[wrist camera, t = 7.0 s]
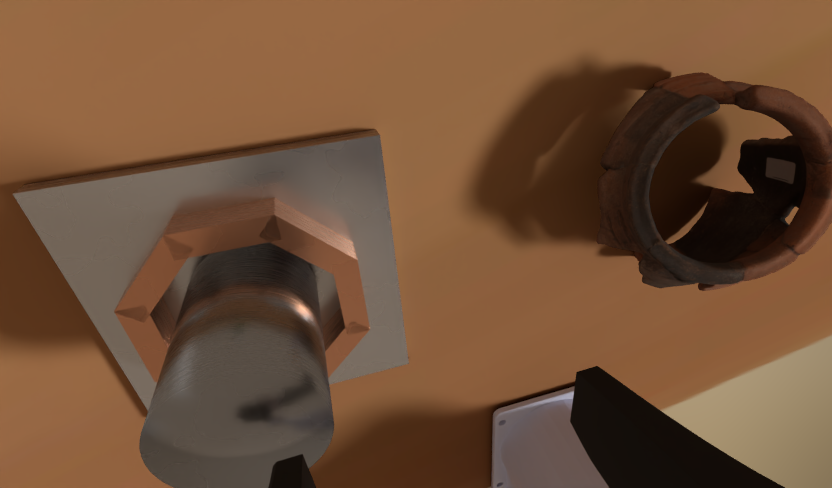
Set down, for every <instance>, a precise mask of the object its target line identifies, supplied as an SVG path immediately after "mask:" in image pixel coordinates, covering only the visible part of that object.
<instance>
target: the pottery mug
mask: <svg viewBox="0 0 832 488" xmlns="http://www.w3.org/2000/svg"><path fill="white" fill-rule="evenodd" d="M719 104H735V105H737V106H739V107H740V108H742V109H745V110H752V111H756V112H759V113H762V114H765V115H767V116H769V117H771V118H773V119H775V120H776V121H778V122H779V123H781V124H782V125H783V126H784V127H786V128H787V129H788V130H789V131H790V132H791V134H792V135H793V136H788V137H786V138H784V139H779V138H778V139H769V138H761V139H759V140H746V141H744V142H743V143H742V145H741V149H740V160H739V163H738V167H737V168H738V171H739V173H740V174H741V175H742V176H743V177H744V178H745V180H746V181H747V183H748V184H749V185H750V186H751V187H752V189H753V191H754V193H753V194H751V193H743V192H730V191H727V190H723V189H718V188H714V189H712V190H711V193H710V197H709V200H708V204H707V206H706V208H705V210H704V213H703V214H702V216H701V217H700V219H699V220H698V221H697V222H696V224H695V225H694V226H693V227H692V228H691V229H690V231H689V232H688V233H687V234H686V235H684V236H683V237H682V238H680V239H679V240H677V241H675V242H674V243H671V244H667V243H666V242H665V241H663V239H662V237H661V236H660V234H659V233H658V230H657V229H656V225H655V222H654V220H653V217H652V214H651V210H650V201H649V191H650V185H651V179H652V176H653V173H654V169H655V167H656V166H657V164H658V162H659V160H660V158H661V156H662V154H663V152H664V151H665V149H666V148H667V147H668V145H669V144H670V143H671V142H672V140H673V139H674V138H675V137H676V136H677V135H678V134H679V133H680V132H682V131H683V130H684V129H685V128H687V127H688V126H689V125H691V124H692V123H693V122H695V121H697V120H699V119H701V118H703V117H705V116H707V115H709V114H711V113H714V112H715V111H717V110H718V109H719V108H720V105H719ZM600 164H601V166H602V167H603V168H604V169H605V170H606V171H607V172H606V173H605V174H603V175H602V176H601V177H600V178H599V179H598V198H599V203H600V210H601V223H600V229H599V231H598V234H597V243H598V244H605V245H608V246H610V247H614V248H619V249H625V250H632V251H635V252H634V256H635V257H636V258H637V260H638V261H639V271H640V273H641V274H642V275H643V277H642V282H643V283H645V284H648V285H651V286H654V287H657V288H665V287H672V286H683V285H690V284H695V283H699V284H698V288H699V290H702V291H706V290H714V289H720V288H724V287H728V286H731V285H734V284H737V283H740V282H742V281H749V280H753V279H757V278H760V277H763V276H766V275H768V274H771V273H774V272H776V271H778V270H780V269H782V268H784V267H785V266H787V265H789V264H791V263H792V262H794V261H795V260H796V259H797V257H798V255H800V254H804V253H805V252H807V251H808V250H809V249H811V248H812V247H813V245H814V244H815V243H816V242H817V241H818V239H819V238H820V237H821V236H822V235H823V234H824V233H825V231H826V230H827V229H828V227H829V225H830V224H831V223H832V128H831V126H830V125H829V123H828V121H827V120H826V119H825V118H824V116H823V115H822V114H821V113H820V112H819V111H818V110H817V109H816V108H815V107H814V106H812V105H811V104H809V103H808V102H806V101H805V100H804V99H803V98H801V97H798V96H796V95H794V94H793V93H791V92H790V91H787V90H782V89H778V88H773V87H769V86H763V85H751V84H746V83H742V82H735V81H725V82H723V81H721V80H719V79H717V78H716V77H713V76H712V75H710V74H708V73H692V74H686V75H681V76H676V77H672V78H668V79H664V80H661V81H659V82H657V83H655V84H654V88H651V89H649V90H648V91H646V92H645V93H644V95H643V96H642V97H641V98H640V99H639V100H638V101H637V102H636V103H635V105H634V106H633V107H632V109H631V110H630V111H629V113H628V114H627V115H626V116H625V118H624V120H623V121H622V122H621V123H620V125H619V126H618V128H617V129H616V131H615V133H614V134H613V136H612V138H611V140H610V142H609V144H608V146H607V148H606V150H605V152H604V153H603V155H602V158H601V162H600ZM795 206H796V207H798V208H799V209H798V211H797V213H796V215H795V216H794V218H793V220H792V222H791V223H790V225H788V223H787V222H786V221H785V218H786V217H787V216H789V214H790V212H791V211H792V209H793V208H794V207H795Z"/></svg>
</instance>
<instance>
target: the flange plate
mask: <svg viewBox="0 0 832 488" xmlns="http://www.w3.org/2000/svg"><path fill="white" fill-rule="evenodd" d="M13 195H14V197H15V199H16V200H17V202H18V203H19V205H20V207H21V208H22V210H23V211H24V213H25V215H26V216H27V218H28V220H29V221H30V223H31V224H32V226H33V228H34V229H35V231H36V232H37V234H38V236H39V237H40V239H41V240H42V242H43V244H44V245H45V247H46V248H47V250H48V252H49V253H50V255H51V256H52V258H53V260H54V261H55V263H56V264H57V266H58V268H59V269H60V271H61V272H62V274H63V276H64V277H65V279H66V280H67V282H68V284H69V285H70V287H71V288H72V290H73V292H74V293H75V295H76V296H77V298H78V300H79V301H80V303H81V304H82V306H83V308H84V309H85V311H86V312H87V314H88V316H89V317H90V319H91V320H92V322H93V324H94V325H95V327H96V328H97V330H98V332H99V333H100V335H101V336H102V338H103V340H104V341H105V343H106V344H107V346H108V348H109V349H110V351H111V352H112V354H113V356H114V357H115V359H116V360H117V362H118V364H119V365H120V367H121V368H122V370H123V372H124V373H125V375H126V376H127V378H128V380H129V381H130V383H131V384H132V386H133V388H134V389H135V391H136V392H137V394H138V396H139V397H140V399H141V400H142V402H143V404H144V405H145V407H146V408H147V410H149V407H150V404H151V401H152V397H153V394H154V391H155V388H156V385H157V382H158V379H159V375H160V372H161V369H162V366H163V363H164V360H165V357H166V353H167V350H168V347H169V344H170V341H171V338H172V335H173V331H174V328H175V325H176V322H177V319H178V316H179V313H180V309H181V306H182V303H183V300H184V297H185V294H186V291H187V287H188V284H189V281H190V278H191V276H192V274H193V272H194V270H195V268H196V267H197V265H198V264H199V263H200V262H201V261H202V260H203V259H204V258H205V257H207V256H208V255H209V254H211V253H216V252H221V251H226V250H232V249H237V248H242V247H247V246H252V245H257V244H262V243H267V242H270V243H272V244H274V245H276V246H278V247H280V248H282V249H284V250H286V251H288V252H290V253H292V254H294V255H296V256H298V257H300V258H302V259H304V260H305V262H306V263H307V264H308V265H309V266H310V268H311V270H312V271H313V273H314V276H315V279H316V282H317V290H318V298H319V306H320V314H321V322H322V331H323V339H324V347H325V355H326V363H327V371H328V380H329V384H333V383H337V382H341V381H344V380H348V379H352V378H356V377H360V376H364V375H367V374H371V373H375V372H379V371H383V370H386V369H390V368H394V367H398V366H402V365H405V364H409V362H408V354H407V346H406V338H405V330H404V322H403V314H402V306H401V299H400V291H399V283H398V275H397V267H396V259H395V251H394V243H393V235H392V227H391V220H390V212H389V204H388V196H387V188H386V180H385V172H384V164H383V156H382V148H381V140H380V135H379V133H378V132H377V130H376V129H375V130H368V131H362V132H356V133H349V134H343V135H337V136H330V137H324V138H317V139H311V140H305V141H298V142H292V143H286V144H279V145H273V146H267V147H260V148H254V149H248V150H241V151H235V152H228V153H222V154H216V155H209V156H203V157H197V158H190V159H184V160H178V161H171V162H165V163H159V164H152V165H146V166H139V167H133V168H127V169H120V170H114V171H108V172H101V173H95V174H89V175H82V176H76V177H70V178H63V179H57V180H50V181H44V182H38V183H31V184H25V185H24V186H22V187H21V188H20V189H18V190H17V191H16V192H14V193H13Z"/></svg>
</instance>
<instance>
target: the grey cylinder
mask: <svg viewBox="0 0 832 488" xmlns="http://www.w3.org/2000/svg"><path fill="white" fill-rule="evenodd" d="M333 431H334V421H333V412H332V404H331V396H330V388H329V380H328V371H327V363H326V355H325V347H324V339H323V331H322V322H321V314H320V306H319V298H318V290H317V282H316V279H315V276H314V273H313V271H312V270H311V268H310V266H309V265H308V264H307V263H306V262H305V260H304V259H302V258H300V257H298V256H296V255H294V254H292V253H290V252H288V251H286V250H284V249H282V248H280V247H278V246H276V245H274V244H272V243H270V242H267V243H262V244H257V245H252V246H247V247H242V248H237V249H232V250H226V251H221V252H216V253H211V254H209V255H208V256H207V257H205V258H204V259H203V260H202V261H201V262H200V263H199V264H198V265H197V267H196V268H195V270H194V272H193V274H192V276H191V278H190V281H189V284H188V287H187V291H186V294H185V297H184V300H183V303H182V306H181V309H180V313H179V316H178V319H177V322H176V325H175V328H174V331H173V335H172V338H171V341H170V344H169V347H168V350H167V353H166V357H165V360H164V363H163V366H162V369H161V372H160V375H159V379H158V382H157V385H156V388H155V391H154V394H153V397H152V401H151V404H150V407H149V410H148V413H147V416H146V419H145V423H144V426H143V429H142V432H141V437H140V453H141V457H142V459H143V461H144V463H145V465H146V467H147V468H148V469H149V471H150V472H151V473H152V474H153V475H155V476H156V477H157V478H158V479H160V480H161V481H163V482H164V483H166V484H168V485H170V486H172V487H174V488H268V487H269V483H270V478H271V473H272V468H273V465H274V464H275V463H276V462H277V461H280V460H283V459H287V458H290V457H294V456H297V455H300V454H303V456H304V458H305V461H306V463H307V466H308V469H309V468H310V467H311V466H312V465H314V464H315V463H316V462H317V461H318V460H319V459H320V457H321V456H322V455H323V454H324V452H325V451H326V449H327V448H328V446H329V444H330V442H331V439H332V436H333Z"/></svg>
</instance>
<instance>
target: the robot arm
mask: <svg viewBox="0 0 832 488" xmlns="http://www.w3.org/2000/svg"><path fill="white" fill-rule="evenodd" d="M268 488H316V486H315V484H314V481H313V479H312V476H311V474H310V471H309V469H308V466H307V463H306V461H305V458H304V456H303V454H300V455H297V456H294V457H290V458H287V459H283V460H280V461H277V462H276V463H275V464H274V465H273V468H272V473H271V478H270V483H269V487H268ZM491 488H785V487H783V486H781V485H779V484H777V483H776V482H774V481H772V480H770V479H768V478H766V477H765V476H763V475H761V474H759V473H757V472H756V471H754V470H752V469H751V468H749V467H747V466H746V465H744V464H742V463H740V462H739V461H737V460H736V459H734V458H732V457H731V456H729V455H727V454H726V453H724V452H722V451H721V450H719V449H718V448H716V447H714V446H713V445H711V444H710V443H708V442H706V441H705V440H703V439H702V438H700V437H698V436H697V435H696V434H694V433H692V432H691V431H690V430H688V429H687V428H685V427H684V426H682V425H681V424H679V423H678V422H676V421H675V420H673V419H672V418H670V417H669V416H667V415H666V414H664V413H663V412H662V411H660V410H659V409H657V408H656V407H654V406H653V405H651V404H650V403H649V402H647V401H646V400H644V399H643V398H642V397H640V396H639V395H637V394H636V393H635V392H633V391H632V390H630V389H629V388H628V387H626V386H625V385H623V384H622V383H621V382H619V381H618V380H616V379H615V378H614V377H612V376H611V375H609V374H608V373H607V372H605V371H604V370H602V369H601V368H600V367H598V366H596V367H592V368H589V369H586V370H582V371H579V372H577V374H576V381H575V386H573V387H570V388H567V389H563V390H560V391H556V392H553V393H550V394H546V395H543V396H539V397H536V398H533V399H529V400H526V401H522V402H519V403H516V404H512V405H509V406H505V407H502V408H499V409H497V410H496V411H495V412H494V413H493V434H492V485H491Z"/></svg>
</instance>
